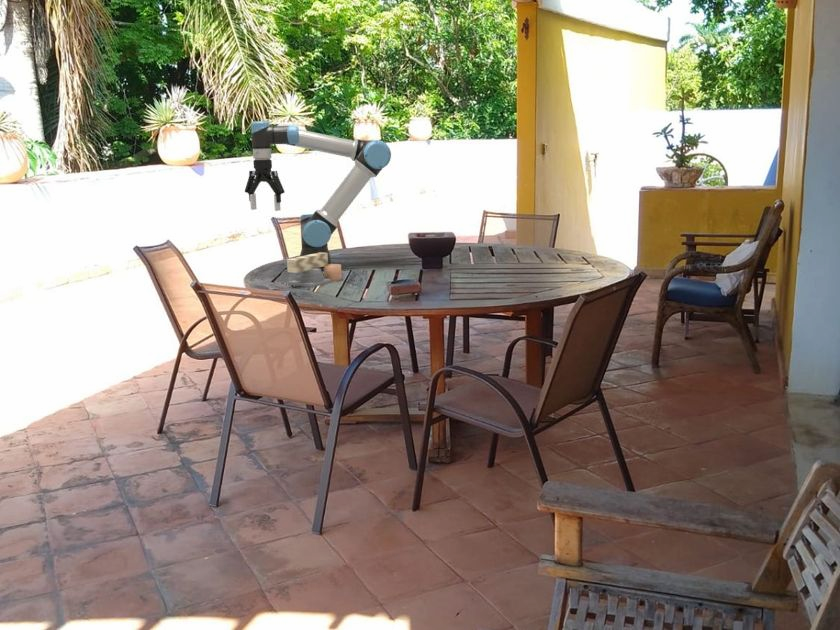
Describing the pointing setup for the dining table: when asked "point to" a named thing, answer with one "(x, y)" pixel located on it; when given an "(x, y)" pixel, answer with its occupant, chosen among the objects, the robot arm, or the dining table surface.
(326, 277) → the orange-brown rounded piece
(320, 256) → the bar
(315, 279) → the fulcrum
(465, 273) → the dining table surface
